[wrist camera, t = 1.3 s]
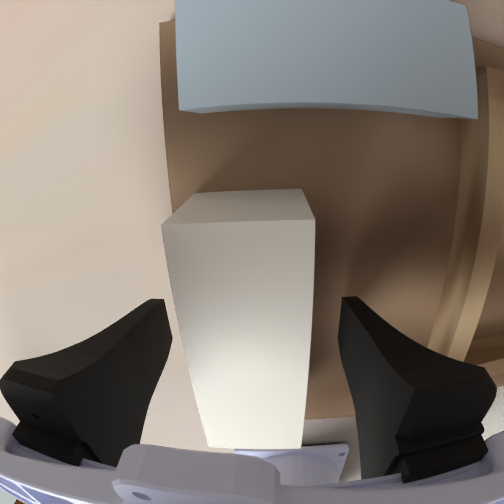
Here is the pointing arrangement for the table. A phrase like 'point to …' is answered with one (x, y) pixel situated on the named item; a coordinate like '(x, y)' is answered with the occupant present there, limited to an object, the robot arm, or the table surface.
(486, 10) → the table surface
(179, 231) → the tall white pillar block
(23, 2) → the table surface
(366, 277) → the jig
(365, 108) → the pale blue rectangular block
